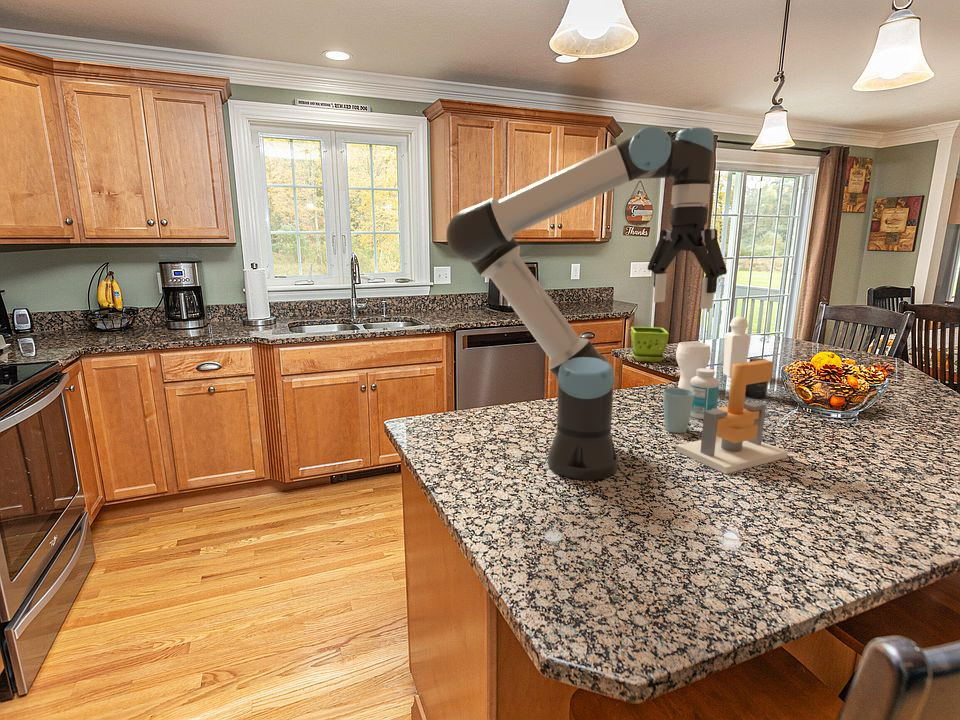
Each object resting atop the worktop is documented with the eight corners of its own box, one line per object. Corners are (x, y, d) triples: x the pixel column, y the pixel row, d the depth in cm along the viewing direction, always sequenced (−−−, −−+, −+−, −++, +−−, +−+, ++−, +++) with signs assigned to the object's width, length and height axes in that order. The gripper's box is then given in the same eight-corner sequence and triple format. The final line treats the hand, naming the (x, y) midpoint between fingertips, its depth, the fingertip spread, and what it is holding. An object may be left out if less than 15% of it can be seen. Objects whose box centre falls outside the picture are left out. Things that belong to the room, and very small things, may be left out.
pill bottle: (711, 412, 154) (715, 367, 152) (719, 420, 147) (724, 373, 144) (684, 411, 155) (688, 366, 152) (691, 419, 148) (696, 372, 145)
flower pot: (631, 362, 217) (633, 331, 214) (628, 355, 231) (630, 326, 228) (667, 363, 215) (670, 332, 212) (661, 356, 228) (664, 327, 225)
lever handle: (775, 434, 124) (784, 364, 120) (726, 446, 117) (734, 372, 113) (745, 424, 131) (753, 357, 127) (697, 434, 124) (704, 364, 120)
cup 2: (678, 382, 187) (682, 340, 184) (710, 386, 181) (714, 343, 178) (669, 388, 179) (673, 345, 175) (702, 394, 173) (706, 348, 169)
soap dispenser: (746, 377, 192) (753, 317, 188) (728, 377, 193) (734, 317, 188) (738, 373, 199) (744, 315, 194) (720, 373, 199) (726, 315, 194)
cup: (687, 425, 144) (690, 388, 141) (694, 435, 136) (698, 396, 134) (658, 424, 145) (660, 387, 142) (663, 434, 137) (666, 395, 135)
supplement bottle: (767, 394, 171) (771, 358, 169) (765, 400, 166) (769, 362, 163) (743, 391, 175) (747, 356, 172) (741, 396, 169) (745, 360, 167)
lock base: (725, 474, 114) (730, 423, 111) (676, 451, 126) (679, 405, 124) (787, 457, 122) (793, 410, 120) (735, 437, 135) (739, 394, 132)
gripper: (752, 203, 105) (741, 310, 110) (660, 209, 127) (654, 298, 132) (725, 202, 102) (715, 312, 106) (635, 209, 124) (630, 300, 128)
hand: (681, 305), depth 119 cm, fingers open, 13 cm apart
